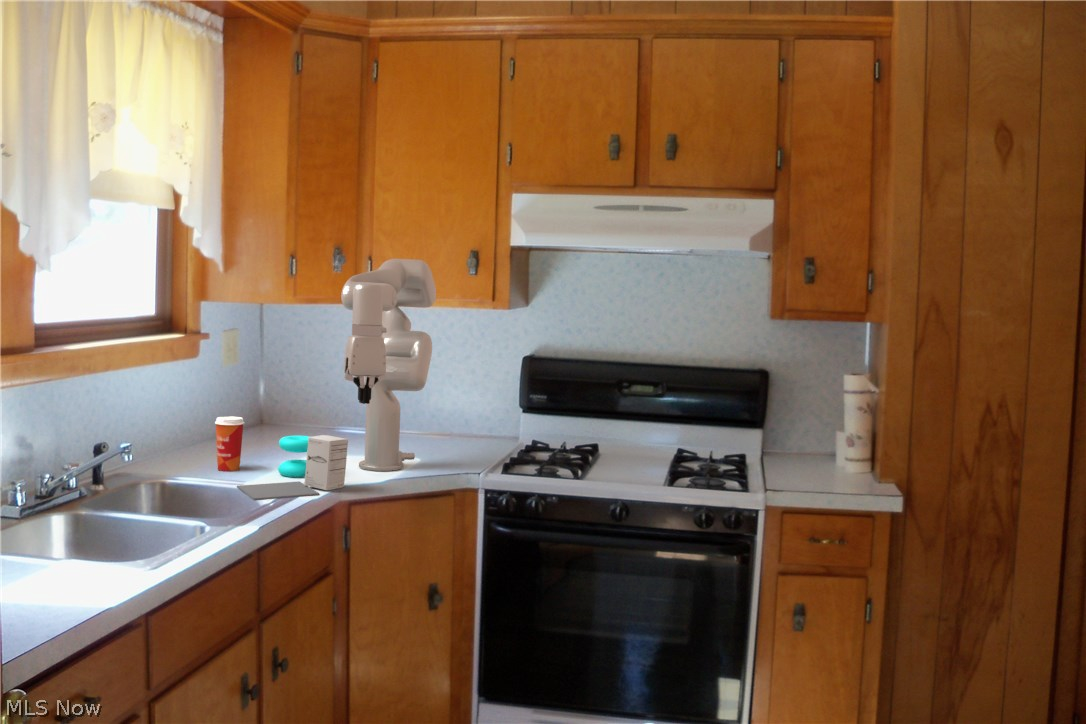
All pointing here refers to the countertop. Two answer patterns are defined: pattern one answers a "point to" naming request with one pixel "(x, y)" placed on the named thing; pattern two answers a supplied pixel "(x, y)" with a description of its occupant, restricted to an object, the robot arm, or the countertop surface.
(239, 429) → the paper cup
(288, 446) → the donuts
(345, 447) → the supplement box
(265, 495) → the mat
